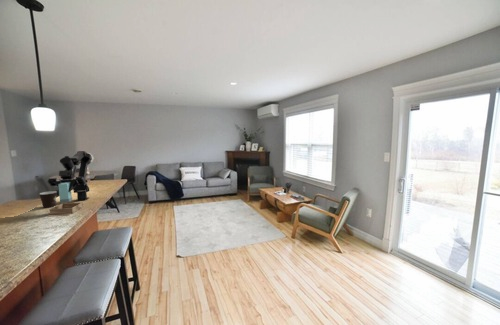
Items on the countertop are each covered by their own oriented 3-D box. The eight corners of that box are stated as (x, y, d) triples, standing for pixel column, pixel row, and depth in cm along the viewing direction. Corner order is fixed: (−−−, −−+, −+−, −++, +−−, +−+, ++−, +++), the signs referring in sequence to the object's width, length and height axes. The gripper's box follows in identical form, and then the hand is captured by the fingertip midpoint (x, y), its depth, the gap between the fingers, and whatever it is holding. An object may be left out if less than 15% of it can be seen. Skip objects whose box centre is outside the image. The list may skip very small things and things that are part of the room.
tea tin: (63, 200, 137) (61, 183, 136) (72, 199, 139) (70, 182, 137) (60, 202, 133) (58, 184, 131) (69, 201, 135) (67, 184, 133)
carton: (65, 207, 144) (65, 202, 144) (85, 205, 147) (85, 201, 146) (46, 216, 127) (45, 211, 126) (69, 215, 129) (68, 209, 129)
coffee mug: (49, 208, 141) (48, 194, 140) (37, 208, 141) (35, 194, 140) (65, 203, 152) (63, 190, 151) (53, 203, 152) (52, 190, 151)
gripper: (47, 166, 133) (39, 186, 124) (82, 165, 140) (77, 184, 131) (54, 175, 141) (47, 195, 133) (87, 174, 148) (83, 193, 140)
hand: (64, 192), depth 134 cm, fingers closed on tea tin, 4 cm apart
